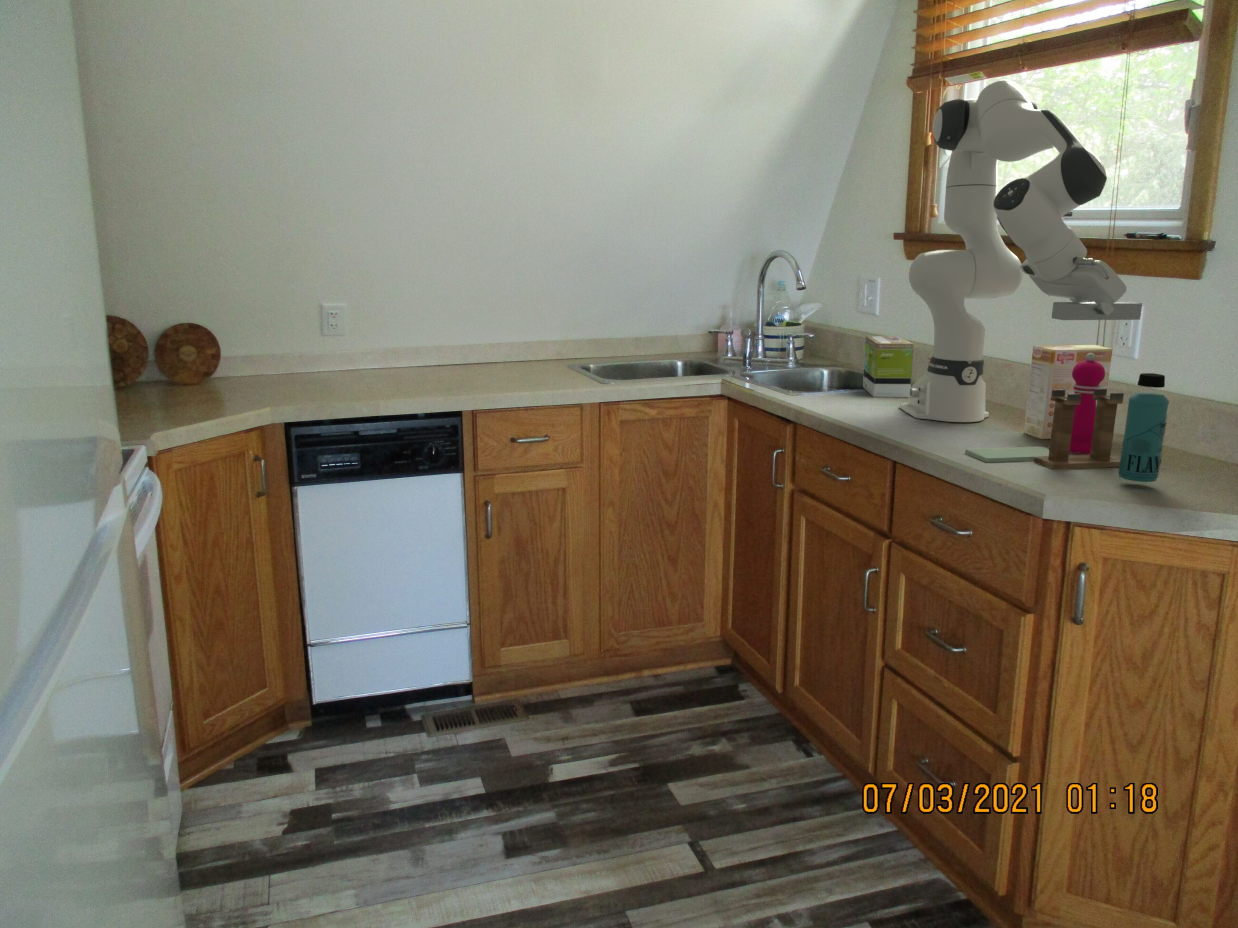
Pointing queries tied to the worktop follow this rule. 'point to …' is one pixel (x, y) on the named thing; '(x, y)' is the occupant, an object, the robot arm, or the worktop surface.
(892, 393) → the tea box
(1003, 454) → the mat
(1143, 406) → the beverage bottle
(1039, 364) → the coffeecake box
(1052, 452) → the stand
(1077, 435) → the pepper mill
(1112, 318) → the rail
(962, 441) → the worktop surface
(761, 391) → the worktop surface
